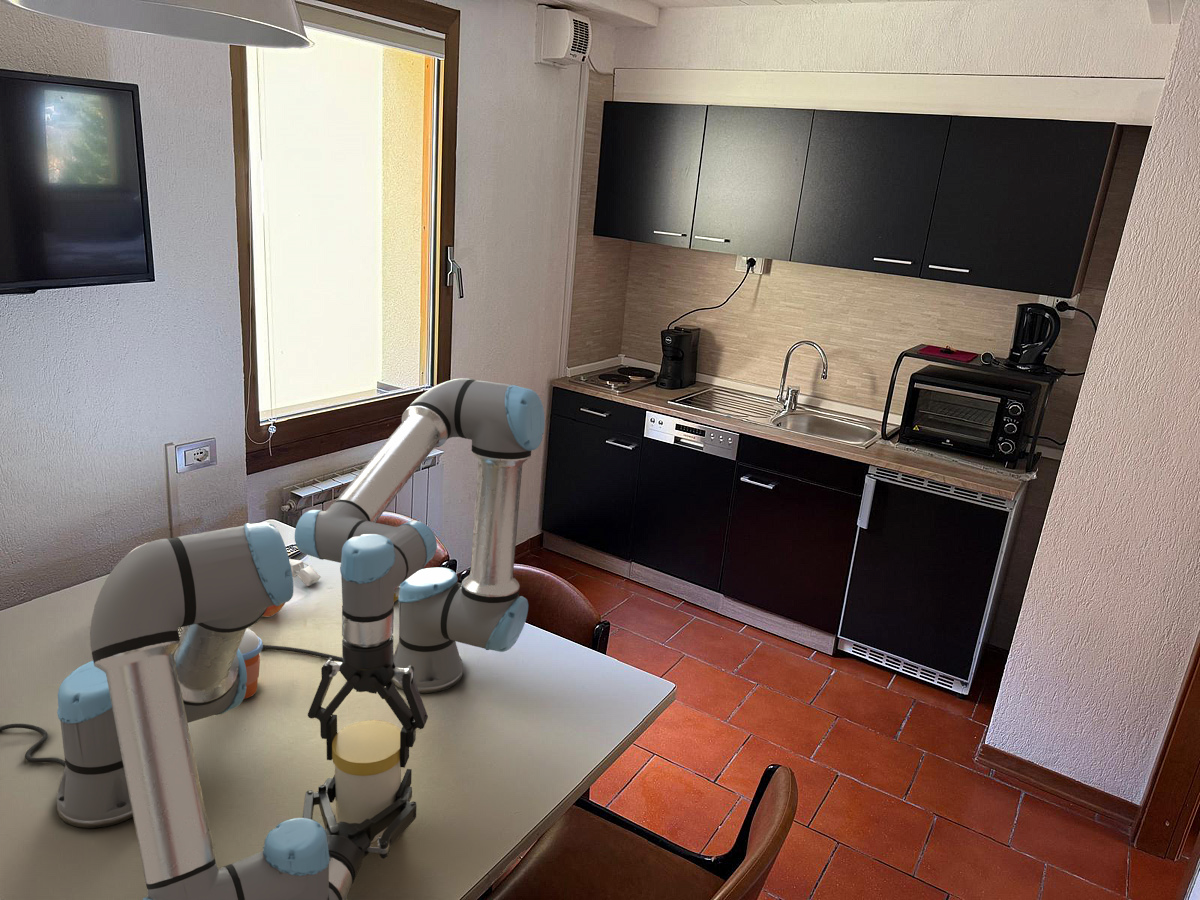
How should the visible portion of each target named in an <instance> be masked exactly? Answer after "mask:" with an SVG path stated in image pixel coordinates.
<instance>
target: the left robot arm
mask: <svg viewBox="0 0 1200 900" xmlns="http://www.w3.org/2000/svg"><path fill="white" fill-rule="evenodd" d="M148 542H149V543H148ZM148 542H146V544H145V543H143V544H141V545H139V547H138V546H137V547H138V548H136V547H135V548H136V549H135V548H134V549H135V550H133V549H132V550H133V551H132V550H131V551H132V552H131V551H130V552H128V553H127V554H126V555H125V556H124V557H123V558H122V559H121V560H120V561H119V562H118V563H117V564H116V565H115V566H114V568H113V569H112V570H111V571H110V573H109V574H108V576H107V578H106V579H105V581H104V583H103V585H102V587H101V589H100V591H99V593H98V595H97V598H96V600H95V604H94V608H93V612H92V616H91V620H90V629H89V641H90V642H89V645H90V651H91V658H92V660H91V661H87V662H86V663H84V664H82V665H79V667H77V668H76V669H74V670H73V671H71V672H70V673H69V675H68V676H67V677H65V678H64V679H63V681H62V682H61V684H60V685H59V687H58V691H57V712H56V713H57V717H58V720H59V721H60V728H61V729H60V730H61V737H62V739H61V740H62V747H63V756H64V759H62V758H58V757H32V756H31V755H32V753H33V752H34V751H36V750H37V748H39V747H41V745H43V744H44V743H45V742H46V740H47V739H48V737H49V734H48V732H47V731H46V730H45V729H44V728H42V727H39V726H38V725H33V724H29V723H10V724H5V725H1V726H0V733H1V732H3V731H5V730H9V729H25V730H32V731H35V732H36V733H39V734H41V735H42V737H41V738H40V739H39V740H38V741H37V742H36V743H35V744H33V745H32V746H31V747H29V748H28V750H27V751H26V752H25V754H24V758H25V761H27V762H29V763H54V764H58V765H60V766H63V773H62V776H61V780H60V783H59V786H58V790H57V793H56V809H57V814H58V816H59V818H60V819H61V820H62V821H63V822H65V823H66V824H69V825H71V826H74V827H79V828H85V829H87V828H88V829H89V828H90V829H94V828H95V829H96V828H102V827H108V826H112V825H116V824H120V823H123V822H125V821H127V820H130V819H133V822H134V829H135V833H136V839H137V844H138V849H139V855H140V860H141V865H142V870H143V875H144V880H145V881H144V882H145V885H146V890H147V896H145V897H143V898H142V900H347V897H348V895H349V893H350V890H351V888H352V885H353V883H354V882H355V879H356V877H357V875H358V872H359V870H360V868H361V866H362V863H363V861H364V858H366V857H367V856H368V855H369V854H370V853H373V854H379V858H381V859H386V858H387V857H388V856H389V853H390V850H391V847H392V846H393V845H395V843H396V842H397V840H398V839H399V838H400V837H401V836H402V834H404V833H405V831H406V830H407V829H408V828H409V827H410V825H411V824H412V823H413V822H414V821H415V820H416V818H417V810H418V809H417V806H418V805H417V802H416V801H414V800H413V801H411V800H412V797H413V786H411V785H412V775H413V774H412V773H413V771H412V768H406V770H405V772H404V775H403V777H402V779H401V784H400V787H399V789H398V791H397V793H396V801H395V802H394V803H393V804H391V805H390V806H388V807H387V808H385V809H384V810H383V811H381V812H380V813H378V814H377V815H375V816H374V817H373V818H371V819H366V820H364V821H363V822H362V823H360V824H359V823H347V822H341V821H340V822H339V823H337V822H336V814H334V812H333V808H332V805H331V803H333V802H334V801H335V774H334V775H333V777H327V779H326V780H325V781H324V784H320V785H319V786H318V791H316V792H315V791H313V790H312V789H311V790H307V791H306V792H305V795H304V802H303V811H302V817H293V818H289V819H286V820H283V821H281V822H279V823H278V824H277V825H276V826H275V827H274V828H273V829H271V830H270V831H268V833H267V835H266V837H265V839H264V844H263V847H262V849H263V850H261V851H260V852H257V853H254V854H252V855H250V856H247V857H244V858H242V859H240V860H237V861H235V862H232V863H229V864H227V865H225V866H222V867H219V868H218V865H217V861H216V854H215V849H214V843H213V840H212V839H213V838H212V834H211V829H210V825H209V820H208V814H207V811H206V806H205V805H206V804H205V800H204V794H203V791H202V786H201V781H200V777H199V771H198V767H197V761H196V757H195V752H194V748H193V742H192V737H191V733H190V727H189V723H193V722H196V721H199V720H202V719H206V718H209V717H212V716H218V715H223V714H225V713H227V712H228V711H231V710H234V709H237V707H238V706H240V705H241V704H242V703H243V700H245V699H244V697H245V694H246V684H245V683H247V672H246V666H245V662H244V659H243V656H242V654H241V652H240V650H239V646H240V643H241V641H242V638H243V636H244V634H245V631H246V629H249V628H251V627H252V626H253V625H256V623H257V622H258V621H260V620H261V619H262V617H264V616H263V614H264V613H265V611H266V609H267V607H269V606H273V605H275V606H280V605H281V604H283V603H285V604H286V603H288V602H290V601H291V599H292V598H293V596H294V577H292V570H291V565H290V561H289V559H290V557H289V553H288V551H287V548H286V544H285V541H284V539H283V537H282V534H281V533H280V531H279V529H278V528H277V526H275V525H274V524H273V523H271V522H267V521H263V522H256V523H249V522H246V523H244V524H243V525H240V526H233V527H228V528H222V529H221V528H220V529H215V530H209V531H203V532H197V533H192V534H187V535H180V536H174V537H169V538H159V539H154V540H152V541H148ZM179 628H182V629H181V633H179ZM315 806H318V808H319V811H320V815H321V818H322V821H323V825H324V827H323V826H322V824H321V823H319V822H318V821H316V820H314V808H315ZM386 828H387V829H386ZM384 829H386V830H385V831H384V832H383V834H382V836H381V835H380V836H378V839H377V840H376V841H375V842H371V841H373V839H374V837H375V836H376V835H377V834H379V833H380V832H382V831H383V830H384Z"/></svg>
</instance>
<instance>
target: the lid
mask: <svg viewBox="0 0 1200 900" xmlns="http://www.w3.org/2000/svg"><path fill="white" fill-rule="evenodd" d="M400 732H401V728H399V727H398V726H397V725H396V724H394V723H392V722H390V721H385V720H380V719H365V720H359V721H357V722H353V723H351V724H348V725H346V726H345V727H343V728H342V729H340V730H339V731H337V734H336V735H335V737H334V739H333V742H332V762H333V764H334V767H335V766H336V767H337V768H338V769H340V770H341V771H343V772H345V773H347V774H351V775H356V776H369V775H375V774H379V773H382V772H385V771H387V770H389V769H391V768H392V767H394V766H395V765H396V764H397V763H398V762H399V761H400Z"/></svg>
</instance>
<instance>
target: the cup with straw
mask: <svg viewBox="0 0 1200 900" xmlns="http://www.w3.org/2000/svg"><path fill="white" fill-rule="evenodd" d="M263 645H264V643H263V640H262V639H261V638H260V637H259V636H258V635H257V634H256V632H254V631H253V630H251V629H249V628H247V629H246V631H245V634H244V636H243V638H242V641H241V643H240V646H239V650H240V652H241V654H242V656H243V659H244V662H245V666H246V672H247V683H245V684H246V694H245V697H244V699H243V700H245V699H249V698H251V697H252V696H253V695H254V694H256V693H257V690H258V681H259V677H260V665H261V664H260V663H261V655H260V654H261V652H262V650H263V649H262V648H263Z"/></svg>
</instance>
